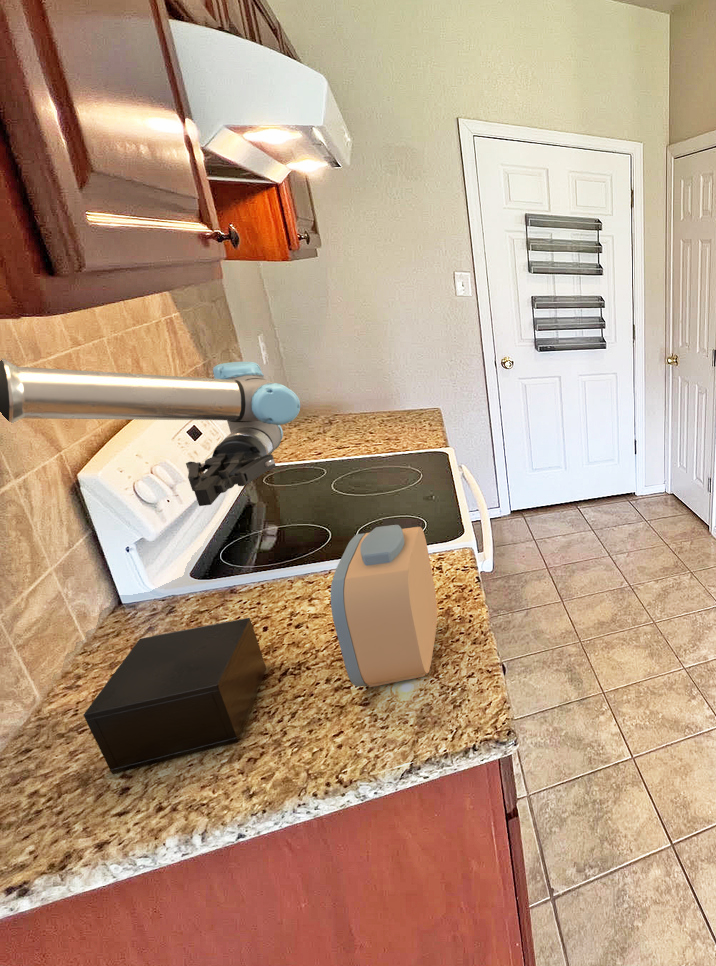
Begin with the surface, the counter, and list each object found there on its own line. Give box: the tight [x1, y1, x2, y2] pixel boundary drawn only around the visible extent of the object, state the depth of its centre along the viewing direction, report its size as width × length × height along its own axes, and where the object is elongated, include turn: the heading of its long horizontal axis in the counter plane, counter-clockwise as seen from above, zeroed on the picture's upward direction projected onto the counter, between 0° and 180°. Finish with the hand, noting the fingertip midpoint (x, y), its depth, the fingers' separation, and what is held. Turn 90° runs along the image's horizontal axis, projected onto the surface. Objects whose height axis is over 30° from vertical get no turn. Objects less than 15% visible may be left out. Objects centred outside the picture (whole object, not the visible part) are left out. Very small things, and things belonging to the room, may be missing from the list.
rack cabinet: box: [83, 617, 267, 775], centre depth 78 cm, size 16×13×10 cm
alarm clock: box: [330, 524, 438, 688], centre depth 88 cm, size 21×10×22 cm, turn 20°
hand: (202, 497), depth 91 cm, fingers closed
